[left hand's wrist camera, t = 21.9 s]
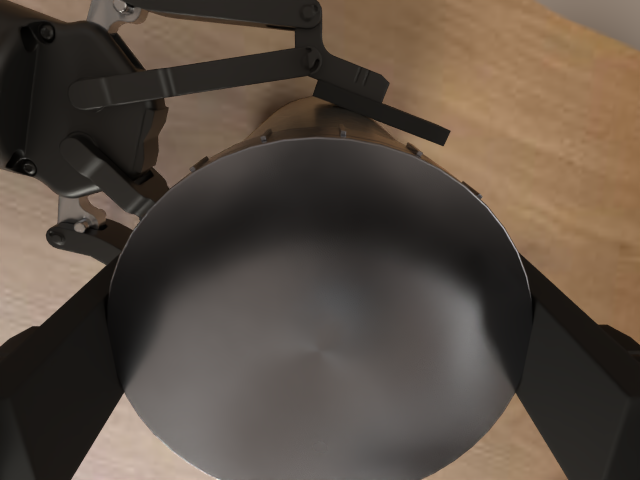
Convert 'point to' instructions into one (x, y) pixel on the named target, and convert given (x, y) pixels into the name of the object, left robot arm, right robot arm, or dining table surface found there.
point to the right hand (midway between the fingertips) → (398, 225)
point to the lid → (319, 311)
